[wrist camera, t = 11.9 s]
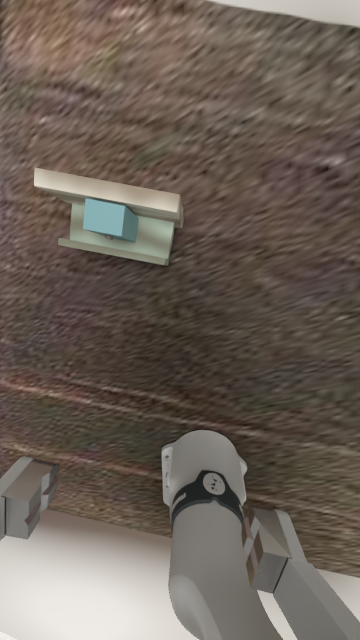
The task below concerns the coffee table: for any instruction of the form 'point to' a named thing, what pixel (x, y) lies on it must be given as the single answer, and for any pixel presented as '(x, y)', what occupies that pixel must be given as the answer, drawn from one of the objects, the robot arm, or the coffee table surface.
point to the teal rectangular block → (110, 220)
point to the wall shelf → (148, 205)
